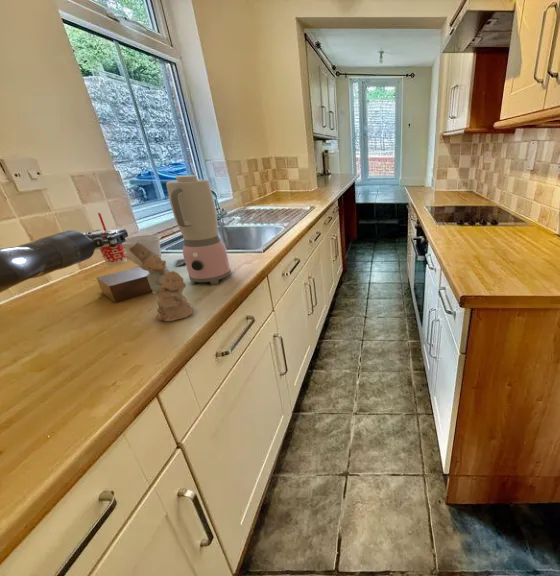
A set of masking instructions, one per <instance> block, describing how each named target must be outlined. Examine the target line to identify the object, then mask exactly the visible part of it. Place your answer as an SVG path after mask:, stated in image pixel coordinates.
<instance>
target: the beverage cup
mask: <svg viewBox="0 0 560 576" xmlns="http://www.w3.org/2000/svg"><path fill="white" fill-rule="evenodd" d="M97 214H98V218H99V220H100V223H101V226H102V228H103V229H99V230H100V231H95V230H94V231H95V232H92V231H91V232H92V233H91V234H97V233H102V232H107V233H112V232H116V231H119V230H120V229H118V228H109V229H107V228H106V225H105V221H104V219H103V217H102V213H101V212H97ZM111 236H112V235H111ZM102 238H103V240H105V238H104V236H103V235H102ZM99 251H100V254H101V257H102V258H103V260H104V262H105V265H106V266H119V265H123V264H126V263H128V258H127V257H126V255H127V254H126V252H125V248H123V244H119V245H117V246H115V247H110V246H105V247H101V248H100V249H99Z"/></svg>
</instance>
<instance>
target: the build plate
mask: <svg viewBox="0 0 560 576" xmlns="http://www.w3.org/2000/svg"><path fill="white" fill-rule="evenodd" d="M176 261H177V262H176V267H183V266H186V263H185V260H184V258H182V259H177V260H176Z"/></svg>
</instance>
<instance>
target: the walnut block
mask: <svg viewBox="0 0 560 576" xmlns="http://www.w3.org/2000/svg"><path fill="white" fill-rule="evenodd" d="M147 275H149V272H148V271H147V270H143V269H142V268H141V267H140V266H138V267H137V266H136V267H133V268H129V269H125V270H121V271H117V272H113V273H110V274H104V275H101V276H97V277H96V281H97V283H98V286H99V289H100V291H101V293H102V294H103V295H105V296H106V297H107V298H108V299H110V300H111V301H113V302H114V303H119V302H121V301H125V300H129V299H132V298H134V297H138V296H142V295H145V294H148V293H152V292H153V290H152V289H151V288H150V284H149V282H148V279H147Z"/></svg>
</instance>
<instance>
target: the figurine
mask: <svg viewBox="0 0 560 576" xmlns="http://www.w3.org/2000/svg"><path fill="white" fill-rule="evenodd" d="M129 250H130V251H131V252H132V253H133V254H134V255H135V256H136V257H137V258H138V259H139V260H140V261H141V262H142V269H143V270H147V271H148V272H149V275H147V279H148V282H149V284H150V288H151V289H152V290H153V291H152V292H151V293H152V294H153V295H154V296H157V298H158V300H157V306H158V308H157V309H156V311H157V315H156V318H155V319H156V320H157V321H165V322H173V321H176V320H182V319H186V318H188V317H189V316H190V315H191V314H192V313H193V312H194V308H193V306H192V305H191V303H190V302H189V301H188V300H187V298H186V297H185V295H184V294H183V291H184V289H185V288H186V286H187V284H186V282H185V279H184V277H182V275H181V274H180V273H178V272H177V271H171V270H169V269H167V261H166V260H165V259H162V257H161V258H160V257H159V255H158V254H155V253H153V252H152V251H150V250H149V249H147V248H146V247H145V246H144V245H142V244H141V243H140V242H137V243H135V244H134V245H133V246H132V247H131V248H130V249H129Z"/></svg>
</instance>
